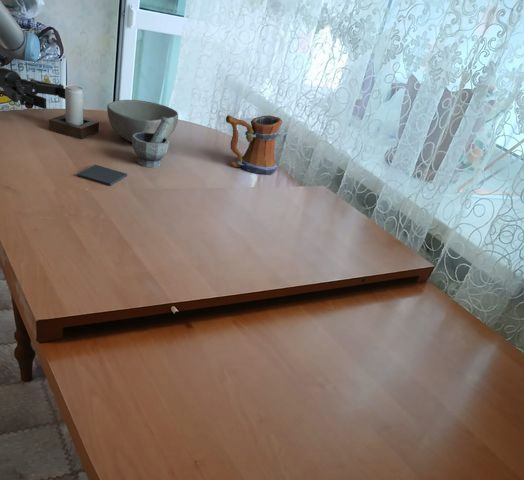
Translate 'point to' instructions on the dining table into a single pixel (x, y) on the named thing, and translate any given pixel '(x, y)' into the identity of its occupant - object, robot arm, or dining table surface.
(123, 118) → the bowl
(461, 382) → the dining table surface
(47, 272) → the dining table surface
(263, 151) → the mug
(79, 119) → the beverage can
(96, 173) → the mat
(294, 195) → the dining table surface
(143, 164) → the mortar and pestle
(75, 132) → the frame
